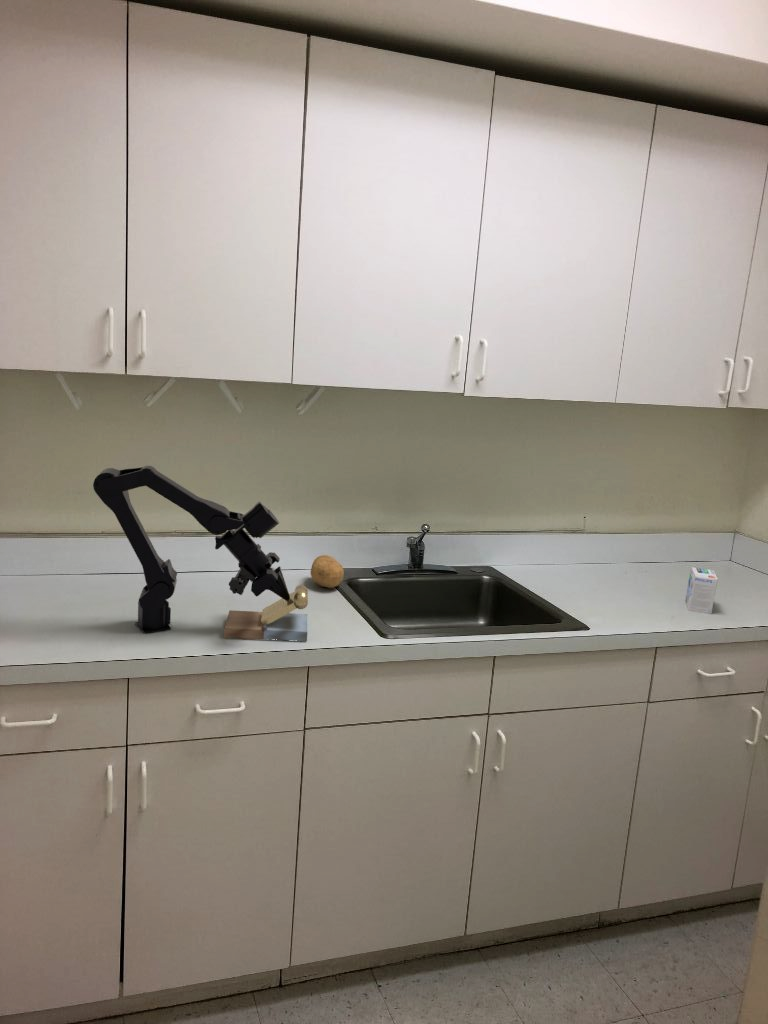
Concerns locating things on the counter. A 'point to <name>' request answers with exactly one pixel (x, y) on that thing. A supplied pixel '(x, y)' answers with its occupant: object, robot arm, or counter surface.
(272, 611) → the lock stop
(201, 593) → the counter surface
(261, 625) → the wood and metal base
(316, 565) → the potato
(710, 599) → the light bulb box
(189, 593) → the counter surface
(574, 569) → the counter surface
